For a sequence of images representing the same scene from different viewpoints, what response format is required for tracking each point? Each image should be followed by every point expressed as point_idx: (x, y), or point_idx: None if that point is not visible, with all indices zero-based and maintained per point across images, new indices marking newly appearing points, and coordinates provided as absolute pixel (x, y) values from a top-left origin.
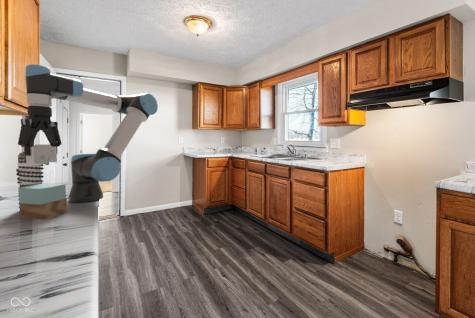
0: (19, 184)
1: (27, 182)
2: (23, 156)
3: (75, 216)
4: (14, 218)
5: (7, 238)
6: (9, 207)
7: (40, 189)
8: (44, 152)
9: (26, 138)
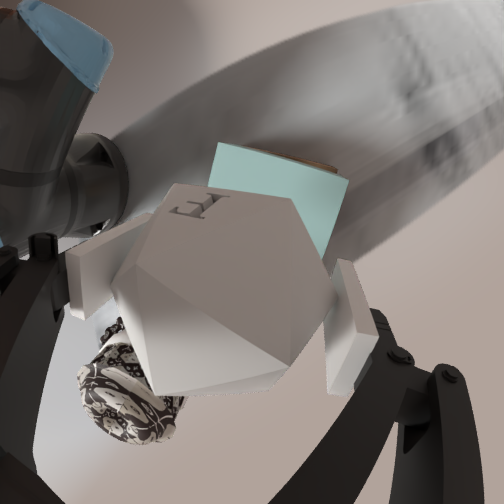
0: None
1: None
2: (168, 415)
3: (306, 85)
4: None
5: (471, 170)
6: None
7: (346, 184)
8: (300, 229)
9: (458, 420)
